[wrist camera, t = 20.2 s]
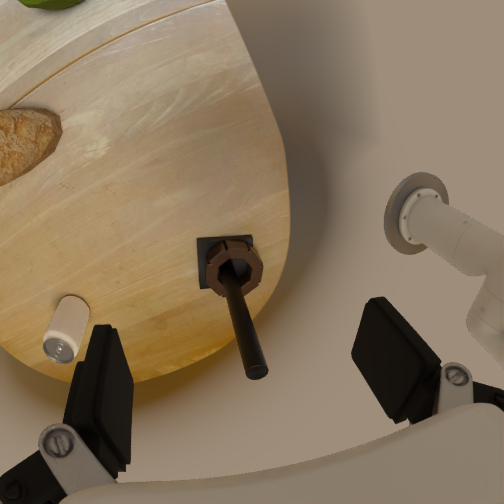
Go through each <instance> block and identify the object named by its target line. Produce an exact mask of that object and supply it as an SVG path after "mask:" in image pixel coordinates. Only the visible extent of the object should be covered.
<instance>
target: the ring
mask: <svg viewBox="0 0 504 504" xmlns="http://www.w3.org/2000/svg"><path fill="white" fill-rule="evenodd" d="M229 258H234V259H245V261H246V262H247V263H248V268H247V272H246V273H244V274H243V275H242V276H240V277H239V278H238V281H239V284H240V287H241V290H242V293H243V296H245V295H246V294H248V293H249V292H250V291H252V290H253V289H254V288H256V287H257V286H258V285H259V284H258V283H260V282H261V277H262V271H263V264H262V263H263V262H262V261H261V259H260V257H259V255H258V253H257V252H256V251H255V250H254V249H253V248H252V247H251V245H250V244H249V243H248V242H247V243H245V241H235V240H225V243H224V242H223V241H222V242H221V243H219V244H218V245H217V246H216V247H214V248H213V249H212V250H211V251H209V252H208V256H206V261H205V279H206V282H207V285H208V286H209V287H210V288H211V289H212V290H213V291H215V292H216V293H217V294H218V295H219V296H220V295H222V297H226V295H225V291H224V287H223V282H222V278H221V276H220V275H219V274H218V268H219V266H220V265H222V264H223V263H224V262H226V261H227V260H228V259H229Z"/></svg>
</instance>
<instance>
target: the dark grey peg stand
mask: <svg viewBox="0 0 504 504" xmlns="http://www.w3.org/2000/svg"><path fill="white" fill-rule="evenodd" d="M225 240H235V241H245V243H247V242H248V243H249V244H250V245H251V247H252V248H253V237H252V235H244V236H227V237H211V238H197V251H198V268H199V284H200V289H207V288H210V287H209V286H208V285H207V282H206V279H205V261H206V256H208V252H209V251H211V250H212V249H213V248H214V247H216V246H217V245H218V244H219V243H221V242H222V241H223V242H224V243H225ZM247 268H248V263H247V262H246V261H245V259H234V258H229V259H228V260H227V261H226V262H224V263H223V264H222V265H220V266H219V268H218V274H219V275H220V276H221V278H222V282H223V287H224V291H225V295H226V299H227V303H228V307H229V311H230V315H231V319H232V323H233V327H234V331H235V335H236V338H237V342H238V346H239V350H240V354H241V358H242V361H243V365H244V369H245V373H246V376H247V377H248V378H249V379H252V380H258V379H261V378H263V377H265V376H266V375H267V374H268V367H267V364H266V361H265V358H264V355H263V352H262V350H261V346H260V344H259V340H258V337H257V334H256V332H255V329H254V326H253V323H252V320H251V317H250V314H249V311H248V308H247V305H246V302H245V299H244V296H243V293H242V290H241V287H240V284H239V281H238V278H239V277H240V276H242V275H243V274H244V273H246V272H247Z"/></svg>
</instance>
